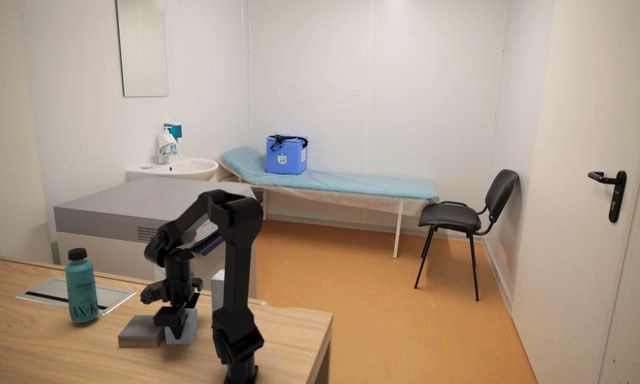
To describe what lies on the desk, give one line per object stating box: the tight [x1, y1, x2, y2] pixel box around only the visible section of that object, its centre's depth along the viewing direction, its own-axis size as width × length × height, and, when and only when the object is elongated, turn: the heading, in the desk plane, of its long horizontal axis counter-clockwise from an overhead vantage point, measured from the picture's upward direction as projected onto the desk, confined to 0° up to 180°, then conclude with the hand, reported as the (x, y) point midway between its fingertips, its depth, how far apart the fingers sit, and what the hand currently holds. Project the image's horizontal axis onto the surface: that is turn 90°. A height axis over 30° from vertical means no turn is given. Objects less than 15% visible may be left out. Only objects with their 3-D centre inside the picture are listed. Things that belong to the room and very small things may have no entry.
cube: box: [165, 308, 199, 346], centre depth 97 cm, size 6×6×6 cm
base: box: [117, 314, 166, 349], centre depth 97 cm, size 9×9×3 cm
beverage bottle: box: [64, 247, 100, 324], centre depth 101 cm, size 6×7×20 cm
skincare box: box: [210, 269, 225, 315], centre depth 106 cm, size 6×4×12 cm
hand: (182, 331), depth 97 cm, fingers closed on cube, 6 cm apart
